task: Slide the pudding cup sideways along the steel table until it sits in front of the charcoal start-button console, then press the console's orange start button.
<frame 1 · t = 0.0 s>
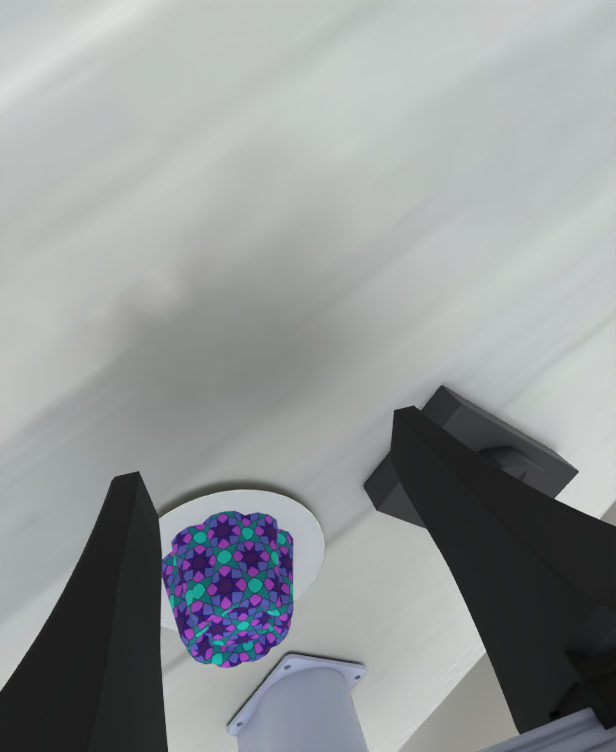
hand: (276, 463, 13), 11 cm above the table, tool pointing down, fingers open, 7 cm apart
console: (464, 468, 31), on the table
pudding: (228, 555, 29), on the table
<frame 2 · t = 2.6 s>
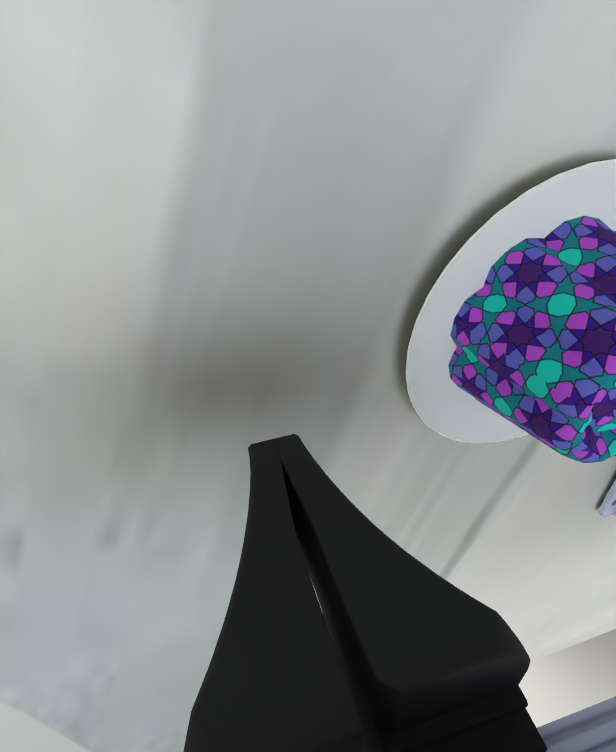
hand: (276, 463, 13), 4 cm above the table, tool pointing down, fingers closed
pudding: (535, 316, 18), on the table
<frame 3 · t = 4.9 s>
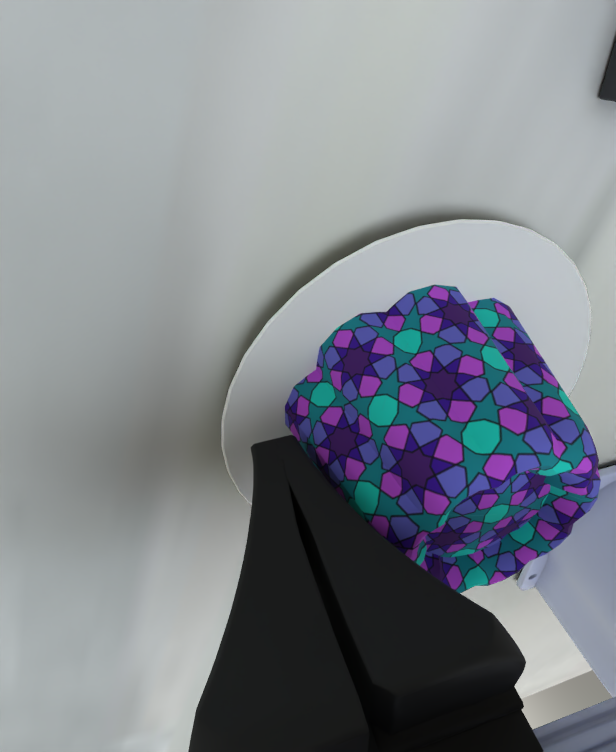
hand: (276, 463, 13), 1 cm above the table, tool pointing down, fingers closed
pudding: (402, 394, 15), on the table, touching gripper
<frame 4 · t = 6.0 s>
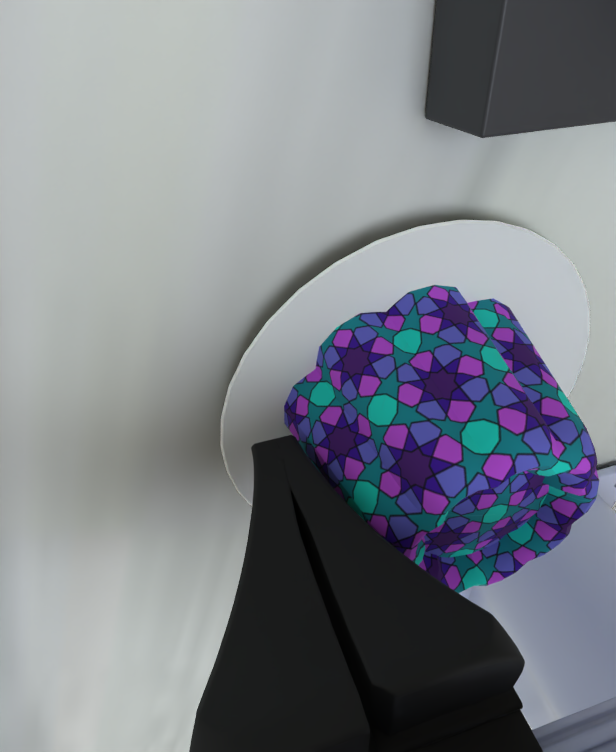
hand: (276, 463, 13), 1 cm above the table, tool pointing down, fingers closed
pudding: (401, 394, 15), on the table, touching gripper
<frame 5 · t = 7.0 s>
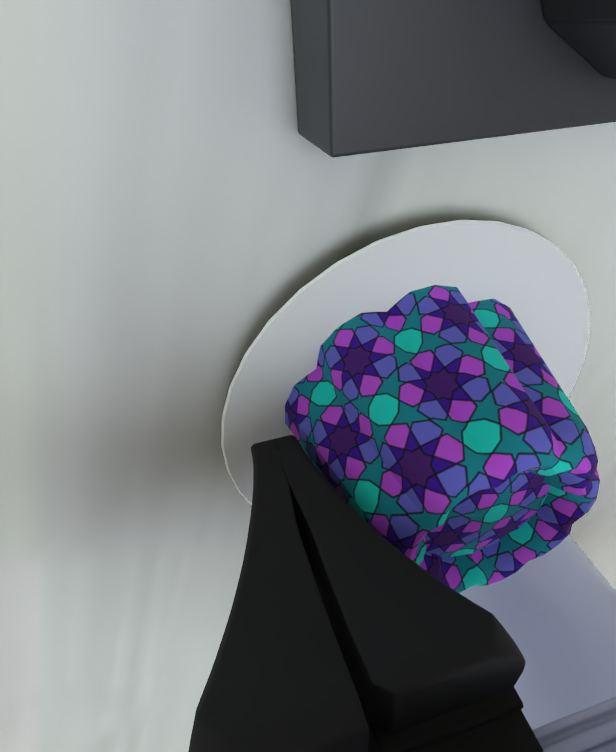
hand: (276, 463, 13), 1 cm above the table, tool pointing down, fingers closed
pudding: (402, 394, 15), on the table, touching gripper
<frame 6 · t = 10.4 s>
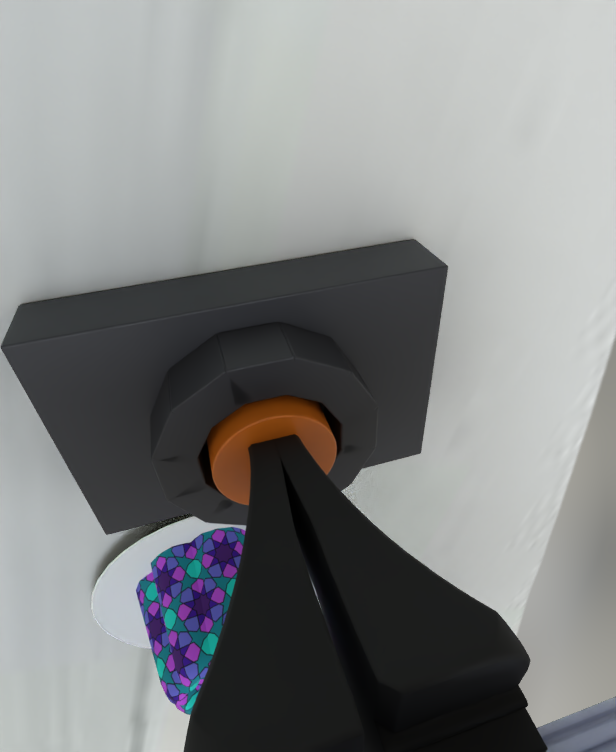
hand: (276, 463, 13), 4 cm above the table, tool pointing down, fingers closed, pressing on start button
console: (249, 373, 16), on the table
pudding: (222, 569, 23), on the table
start button: (270, 443, 14), point 4 cm above the table, slide at -0.8 cm, touching gripper
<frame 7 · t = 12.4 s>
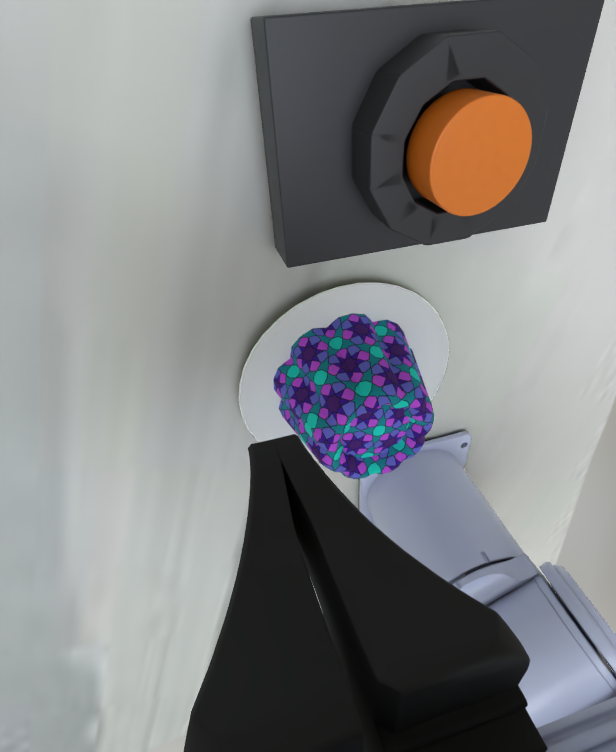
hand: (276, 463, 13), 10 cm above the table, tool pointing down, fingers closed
console: (408, 129, 19), on the table
pudding: (342, 373, 26), on the table
start button: (467, 154, 15), point 4 cm above the table, slide at 0.1 cm
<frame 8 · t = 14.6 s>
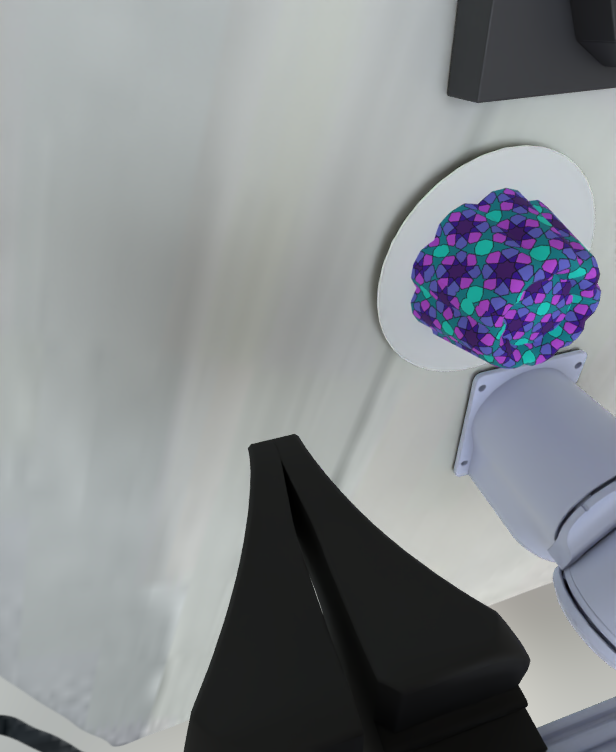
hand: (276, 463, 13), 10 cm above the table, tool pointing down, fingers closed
pudding: (477, 267, 24), on the table
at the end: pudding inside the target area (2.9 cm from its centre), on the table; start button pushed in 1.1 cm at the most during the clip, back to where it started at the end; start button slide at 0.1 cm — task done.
